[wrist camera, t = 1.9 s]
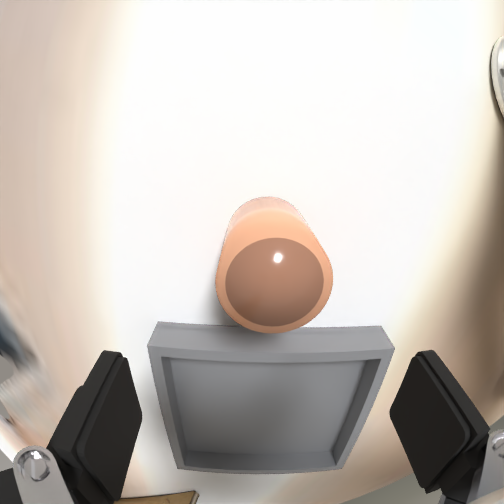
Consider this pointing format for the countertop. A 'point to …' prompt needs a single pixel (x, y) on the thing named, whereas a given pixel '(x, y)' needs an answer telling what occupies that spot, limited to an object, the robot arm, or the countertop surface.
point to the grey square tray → (266, 394)
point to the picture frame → (163, 499)
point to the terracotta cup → (272, 268)
